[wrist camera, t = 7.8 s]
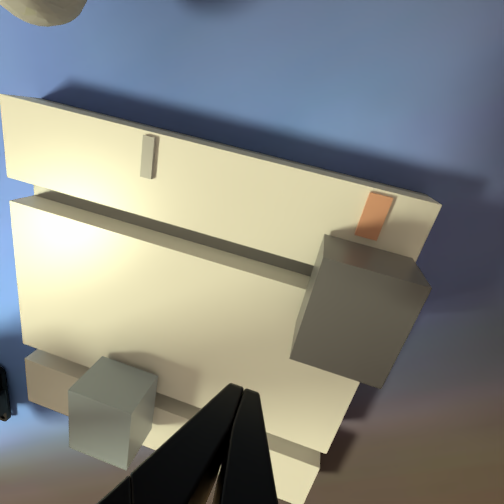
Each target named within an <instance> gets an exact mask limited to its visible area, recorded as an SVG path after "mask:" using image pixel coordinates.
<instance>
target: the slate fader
mask: <svg viewBox="0 0 504 504" xmlns="http://www.w3.org/2000/svg"><path fill="white" fill-rule="evenodd" d="M157 381H158V376H157V375H154V374H152V373H149V372H146V371H143V370H140V369H138V368H135V367H132V366H129V365H126V364H124V363H121V362H118V361H115V360H112V359H110V358H107V357H104V356H102V357H101V358H100V359H99V360H98V361H97V362H96V363H95V364H94V365H93V366H92V367H91V368H90V369H89V370H88V371H87V372H86V373H85V374H84V375H83V376H82V377H80V378H79V379H78V380H77V381H76V382H75V383H74V384H73V385H72V386H71V387H70V388H69V389H68V411H69V447H70V448H72V449H75V450H77V451H80V452H82V453H85V454H87V455H89V456H92V457H94V458H97V459H99V460H102V461H104V462H107V463H109V464H112V465H114V466H117V467H119V468H122V469H124V470H127V469H128V467H129V466H130V464H131V462H132V461H133V459H134V457H135V456H136V454H137V452H138V451H139V449H140V447H141V446H142V444H143V442H144V441H145V439H146V437H147V436H148V434H149V432H150V431H151V429H152V421H153V413H154V405H155V397H156V389H157Z"/></svg>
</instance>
